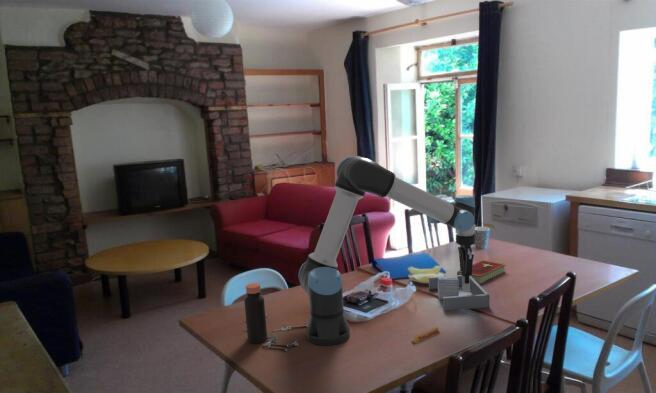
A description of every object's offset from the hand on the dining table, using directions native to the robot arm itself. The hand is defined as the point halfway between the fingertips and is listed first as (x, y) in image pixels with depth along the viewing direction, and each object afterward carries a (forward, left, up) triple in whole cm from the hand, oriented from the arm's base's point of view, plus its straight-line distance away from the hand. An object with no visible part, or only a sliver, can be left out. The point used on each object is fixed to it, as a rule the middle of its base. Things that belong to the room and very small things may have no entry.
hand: (466, 290), depth 202 cm
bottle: (-26, +82, -3) cm, 86 cm away
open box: (0, +4, -3) cm, 5 cm away
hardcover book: (+25, -15, -4) cm, 29 cm away
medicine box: (0, +7, -3) cm, 8 cm away
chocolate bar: (-33, +24, -4) cm, 41 cm away
